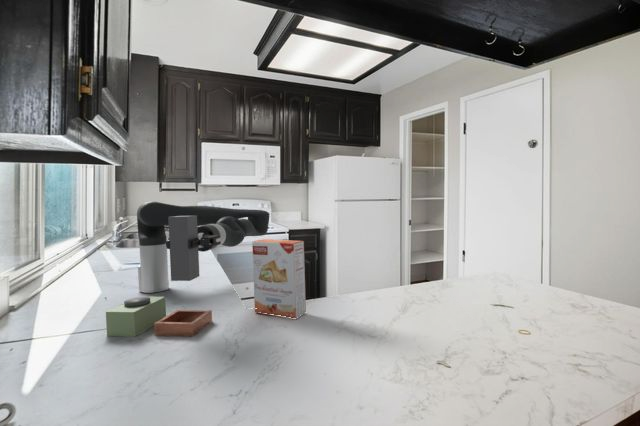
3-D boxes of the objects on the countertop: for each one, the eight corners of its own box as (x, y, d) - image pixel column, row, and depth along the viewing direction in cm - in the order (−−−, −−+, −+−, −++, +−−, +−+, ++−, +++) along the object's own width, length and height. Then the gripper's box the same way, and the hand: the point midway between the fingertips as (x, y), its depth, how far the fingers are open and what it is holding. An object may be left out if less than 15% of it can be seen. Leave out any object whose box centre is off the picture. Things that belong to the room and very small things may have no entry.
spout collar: (154, 335, 82) (154, 323, 82) (177, 320, 92) (176, 309, 92) (193, 336, 81) (192, 324, 81) (212, 321, 91) (211, 310, 91)
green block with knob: (107, 335, 83) (105, 307, 83) (141, 317, 96) (140, 293, 95) (135, 336, 82) (133, 308, 82) (166, 317, 95) (165, 293, 94)
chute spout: (171, 280, 84) (168, 217, 84) (181, 276, 89) (178, 215, 89) (190, 280, 84) (187, 216, 83) (199, 276, 89) (196, 215, 88)
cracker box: (253, 313, 96) (251, 240, 95) (266, 307, 101) (264, 238, 101) (295, 320, 90) (292, 242, 89) (306, 313, 95) (304, 239, 94)
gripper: (232, 249, 100) (206, 259, 83) (186, 249, 101) (152, 259, 85) (231, 223, 99) (205, 229, 83) (185, 224, 101) (150, 230, 84)
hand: (178, 244), depth 84 cm, fingers closed on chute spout, 5 cm apart
